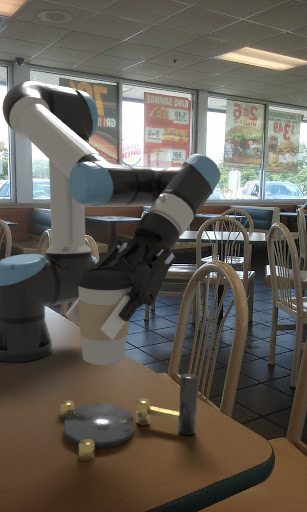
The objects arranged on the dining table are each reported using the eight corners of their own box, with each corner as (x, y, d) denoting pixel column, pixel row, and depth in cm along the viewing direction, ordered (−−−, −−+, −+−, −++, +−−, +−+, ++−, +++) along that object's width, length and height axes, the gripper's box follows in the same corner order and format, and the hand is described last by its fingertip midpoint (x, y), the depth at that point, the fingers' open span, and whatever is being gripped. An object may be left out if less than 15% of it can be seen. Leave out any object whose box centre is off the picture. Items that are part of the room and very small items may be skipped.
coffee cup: (122, 370, 73) (125, 275, 71) (67, 364, 75) (68, 271, 73) (135, 350, 82) (138, 266, 80) (86, 345, 84) (87, 262, 81)
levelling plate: (55, 413, 85) (56, 401, 85) (116, 404, 90) (117, 393, 89) (76, 463, 71) (77, 449, 70) (148, 449, 75) (149, 436, 75)
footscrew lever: (133, 424, 82) (135, 370, 81) (139, 416, 85) (141, 364, 84) (192, 437, 79) (195, 382, 77) (197, 429, 81) (200, 375, 80)
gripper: (114, 206, 89) (38, 299, 81) (200, 214, 74) (117, 331, 65) (134, 232, 94) (64, 323, 85) (219, 246, 78) (144, 359, 70)
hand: (87, 326), depth 75 cm, fingers closed on coffee cup, 9 cm apart
